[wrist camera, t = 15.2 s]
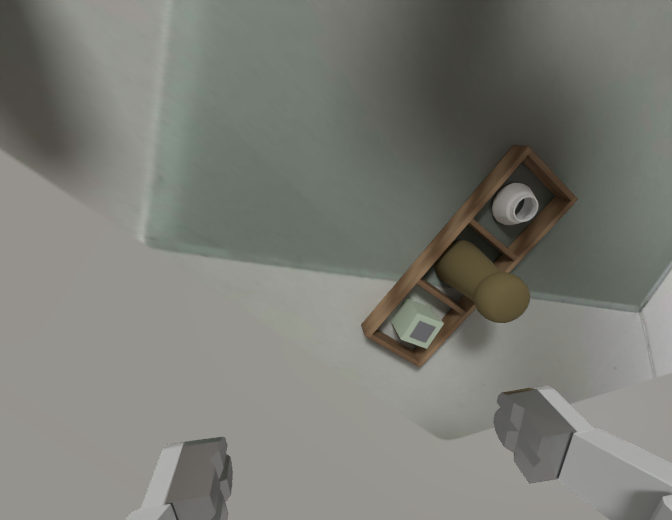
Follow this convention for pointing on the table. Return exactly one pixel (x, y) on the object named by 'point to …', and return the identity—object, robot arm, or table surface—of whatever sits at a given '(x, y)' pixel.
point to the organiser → (465, 217)
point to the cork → (482, 282)
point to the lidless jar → (514, 204)
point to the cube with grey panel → (416, 323)
